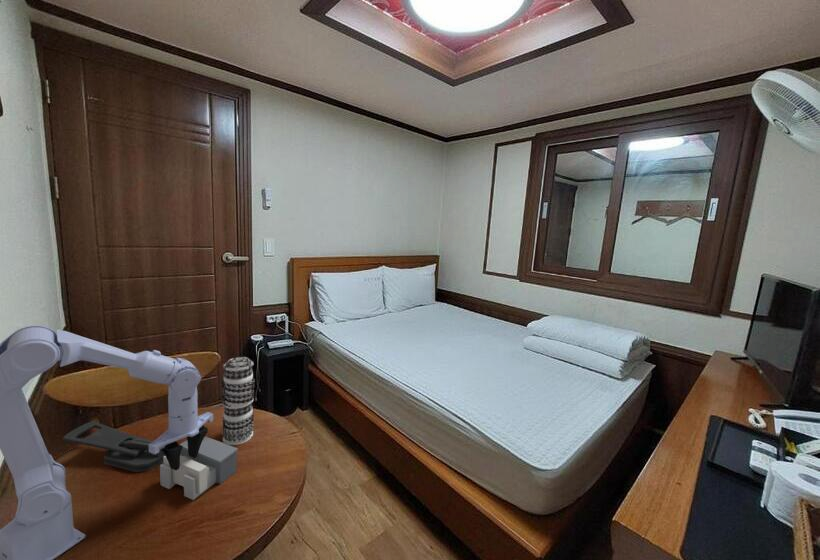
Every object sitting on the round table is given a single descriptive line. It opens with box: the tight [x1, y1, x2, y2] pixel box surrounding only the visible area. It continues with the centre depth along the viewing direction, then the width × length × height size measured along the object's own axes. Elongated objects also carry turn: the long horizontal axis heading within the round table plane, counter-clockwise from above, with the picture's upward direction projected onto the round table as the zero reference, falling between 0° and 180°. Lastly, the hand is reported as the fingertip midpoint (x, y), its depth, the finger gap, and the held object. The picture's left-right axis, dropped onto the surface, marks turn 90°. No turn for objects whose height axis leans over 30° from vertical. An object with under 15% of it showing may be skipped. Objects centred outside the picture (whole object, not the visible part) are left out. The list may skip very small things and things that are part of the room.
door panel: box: [163, 455, 208, 494], centre depth 81 cm, size 12×2×6 cm, turn 71°
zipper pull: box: [62, 420, 165, 473], centre depth 89 cm, size 9×7×25 cm
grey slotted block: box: [159, 435, 239, 501], centre depth 84 cm, size 11×14×7 cm
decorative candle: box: [220, 356, 256, 446], centre depth 99 cm, size 9×9×25 cm
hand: (184, 462), depth 80 cm, fingers open, 4 cm apart
